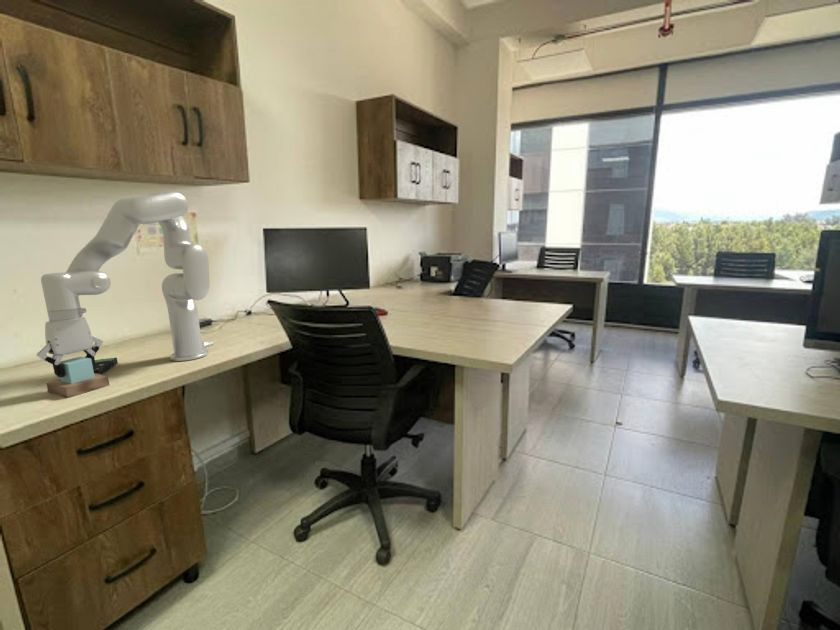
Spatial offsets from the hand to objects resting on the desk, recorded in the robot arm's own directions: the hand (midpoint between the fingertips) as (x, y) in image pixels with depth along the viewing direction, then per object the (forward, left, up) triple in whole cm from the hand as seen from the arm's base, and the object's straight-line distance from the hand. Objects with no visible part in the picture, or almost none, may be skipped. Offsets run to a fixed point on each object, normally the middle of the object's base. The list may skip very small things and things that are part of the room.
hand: (76, 372), depth 125 cm
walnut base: (0, 0, -5) cm, 5 cm away
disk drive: (-11, -16, -6) cm, 21 cm away
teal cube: (0, 0, -2) cm, 2 cm away
